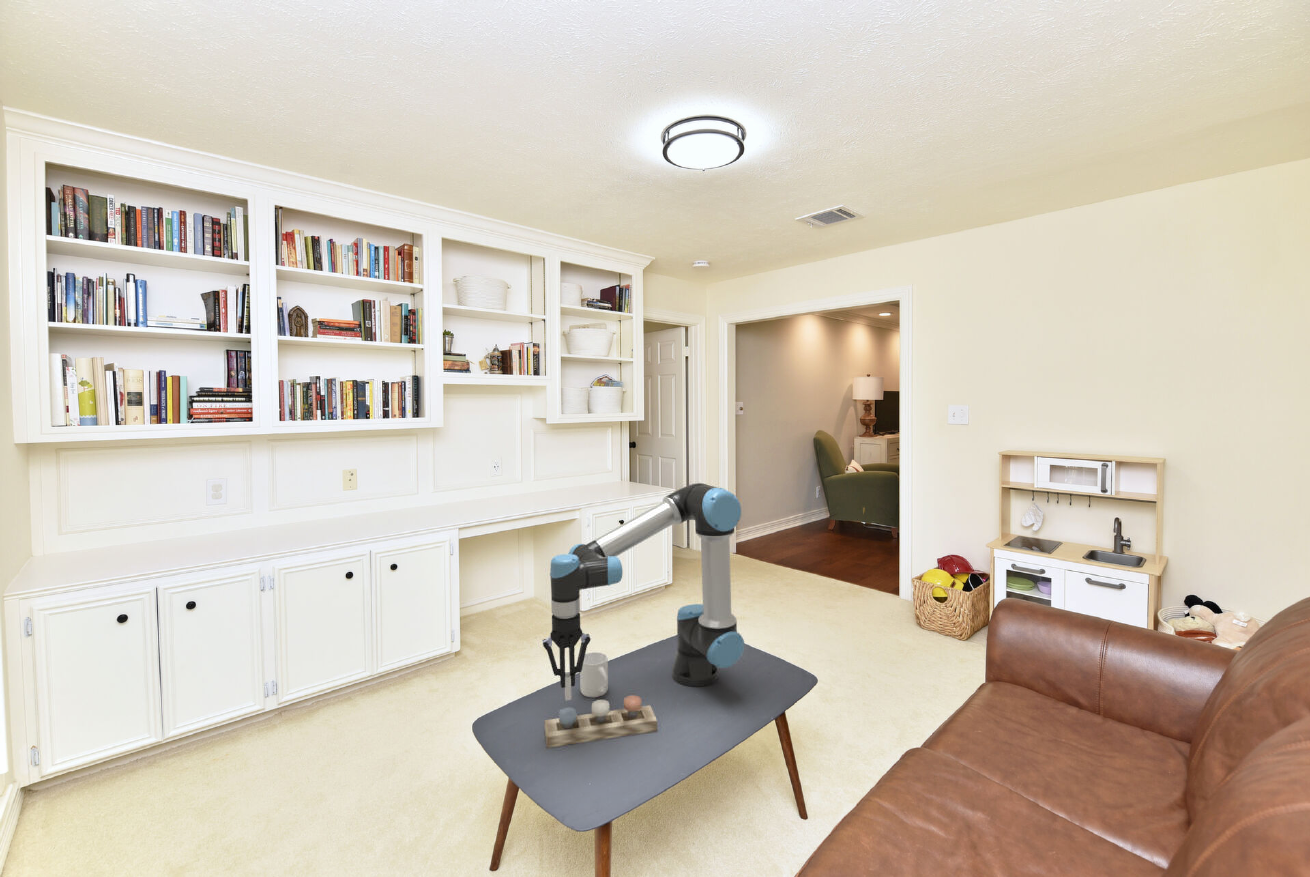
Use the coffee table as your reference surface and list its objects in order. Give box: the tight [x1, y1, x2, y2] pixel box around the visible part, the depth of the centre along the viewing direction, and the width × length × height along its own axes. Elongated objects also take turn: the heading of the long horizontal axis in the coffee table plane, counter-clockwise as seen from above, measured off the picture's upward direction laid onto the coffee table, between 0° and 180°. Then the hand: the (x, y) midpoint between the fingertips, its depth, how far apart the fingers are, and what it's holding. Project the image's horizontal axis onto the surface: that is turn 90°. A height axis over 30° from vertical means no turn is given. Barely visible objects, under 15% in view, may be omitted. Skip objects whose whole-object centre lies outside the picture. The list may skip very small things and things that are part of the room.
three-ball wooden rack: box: [544, 705, 658, 749], centre depth 160 cm, size 30×8×3 cm, turn 104°
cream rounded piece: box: [591, 699, 610, 723], centre depth 160 cm, size 5×5×4 cm
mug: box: [579, 651, 609, 698], centre depth 180 cm, size 9×12×11 cm
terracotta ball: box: [623, 695, 642, 718], centre depth 162 cm, size 5×5×4 cm
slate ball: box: [558, 707, 578, 730], centre depth 158 cm, size 5×5×4 cm
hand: (568, 697), depth 157 cm, fingers closed
